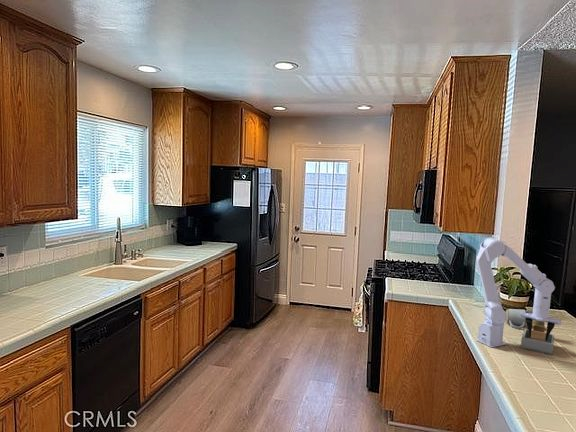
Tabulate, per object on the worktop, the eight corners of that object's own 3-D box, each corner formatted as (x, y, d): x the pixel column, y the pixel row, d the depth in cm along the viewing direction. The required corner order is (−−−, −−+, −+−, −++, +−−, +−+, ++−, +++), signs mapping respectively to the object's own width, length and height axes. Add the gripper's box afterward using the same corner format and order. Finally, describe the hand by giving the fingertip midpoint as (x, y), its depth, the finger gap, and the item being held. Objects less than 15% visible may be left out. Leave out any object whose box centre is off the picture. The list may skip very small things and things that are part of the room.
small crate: (544, 347, 166) (545, 333, 166) (529, 344, 169) (531, 330, 169) (545, 340, 174) (546, 327, 173) (531, 337, 177) (533, 324, 176)
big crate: (552, 355, 164) (553, 344, 163) (520, 348, 170) (521, 337, 169) (553, 345, 174) (554, 334, 174) (523, 338, 180) (524, 328, 180)
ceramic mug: (504, 320, 203) (505, 305, 202) (523, 323, 200) (524, 308, 200) (507, 328, 193) (509, 312, 192) (527, 331, 191) (529, 315, 190)
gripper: (520, 304, 171) (517, 336, 172) (562, 312, 163) (558, 345, 164) (522, 300, 177) (519, 331, 178) (562, 308, 169) (559, 340, 170)
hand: (538, 338), depth 172 cm, fingers closed on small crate, 5 cm apart
